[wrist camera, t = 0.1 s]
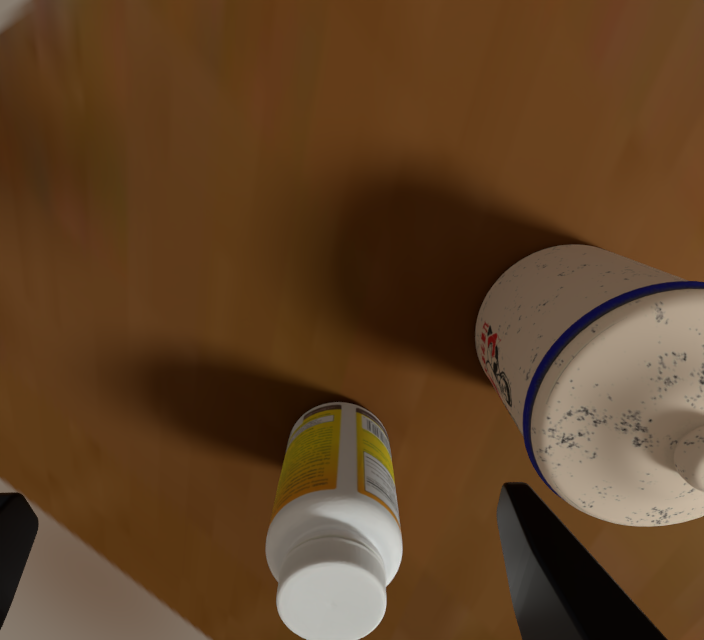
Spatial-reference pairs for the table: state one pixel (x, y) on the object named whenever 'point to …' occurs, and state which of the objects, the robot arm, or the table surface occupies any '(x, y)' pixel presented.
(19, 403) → the table surface
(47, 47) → the table surface
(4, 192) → the table surface
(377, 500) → the supplement bottle
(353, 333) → the table surface
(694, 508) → the teacup with lid
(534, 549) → the robot arm
